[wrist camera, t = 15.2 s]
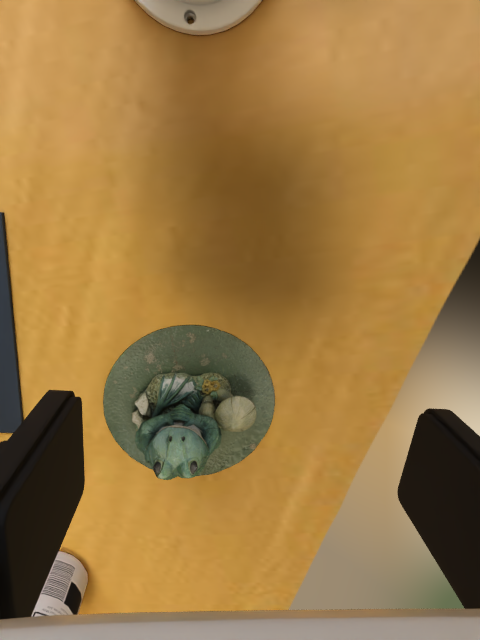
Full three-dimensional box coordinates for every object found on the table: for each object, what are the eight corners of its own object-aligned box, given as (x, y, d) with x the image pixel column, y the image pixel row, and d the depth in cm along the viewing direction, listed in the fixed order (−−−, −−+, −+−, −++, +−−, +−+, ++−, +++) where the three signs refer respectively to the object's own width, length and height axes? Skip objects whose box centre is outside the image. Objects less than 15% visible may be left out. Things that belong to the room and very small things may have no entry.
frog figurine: (285, 331, 38) (317, 389, 27) (263, 477, 43) (281, 574, 32) (103, 318, 36) (56, 373, 25) (104, 472, 42) (66, 572, 31)
